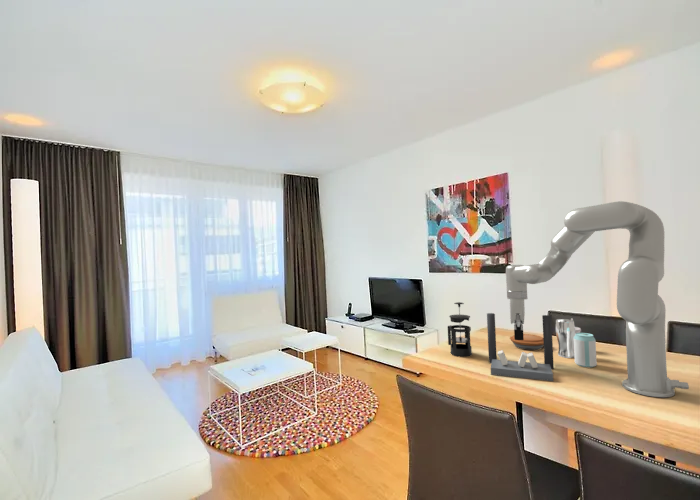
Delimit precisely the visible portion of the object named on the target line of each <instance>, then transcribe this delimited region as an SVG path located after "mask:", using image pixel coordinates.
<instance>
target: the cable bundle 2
mask: <svg viewBox="0 0 700 500" xmlns="http://www.w3.org/2000/svg"><path fill="white" fill-rule="evenodd" d="M541 316H542V319H541V320H542V336H543V337H542V338H543V341H544V345H543V356H544V357H543V359H544V360H543V362H544V363H543V364H550V366H551V370H554V368H555V367H554V347H553V346H554V343H553V325H552V324H553V322H552V315H549V314H543V315H541Z"/></svg>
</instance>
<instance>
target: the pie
mask: <svg viewBox="0 0 700 500" xmlns="http://www.w3.org/2000/svg"><path fill="white" fill-rule="evenodd" d="M523 337H524V340H515V338H514V335H512V336H510V337H509V340H510V341H511V342H512V344H513V345H514V347H516V349H517V348H518V349H521V350H528V351H537V350H541V349H543V348H544V341H543V337H542V336H540V335H536V334H530V333H523Z"/></svg>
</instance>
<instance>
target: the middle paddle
mask: <svg viewBox="0 0 700 500" xmlns="http://www.w3.org/2000/svg"><path fill="white" fill-rule="evenodd" d="M527 359H528V356H527V352H524V351H522V352H521V354H520V357H519V359H518V365H519V366H521V367H523V368H524V365H525V362H527Z"/></svg>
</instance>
